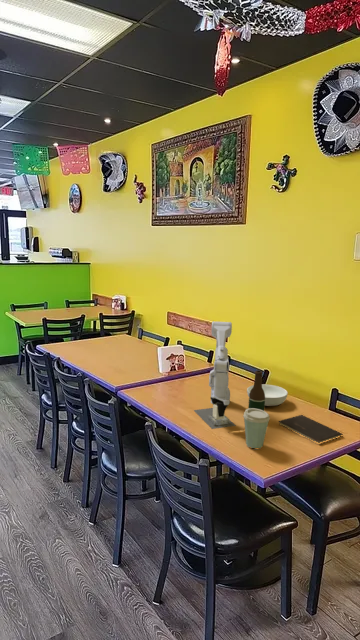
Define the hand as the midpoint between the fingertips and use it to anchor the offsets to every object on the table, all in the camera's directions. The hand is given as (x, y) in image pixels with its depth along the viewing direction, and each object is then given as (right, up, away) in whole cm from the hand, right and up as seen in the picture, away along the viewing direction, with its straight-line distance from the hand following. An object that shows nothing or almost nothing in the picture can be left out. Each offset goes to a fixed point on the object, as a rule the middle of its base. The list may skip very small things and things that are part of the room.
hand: (218, 414), depth 191 cm
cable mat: (-2, -4, +5) cm, 7 cm away
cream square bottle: (0, -2, 0) cm, 2 cm away
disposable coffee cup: (+13, -9, -19) cm, 25 cm away
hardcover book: (+41, -7, -3) cm, 41 cm away
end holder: (0, -5, +1) cm, 5 cm away
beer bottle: (+18, -4, +7) cm, 20 cm away
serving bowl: (+28, -1, +29) cm, 40 cm away
